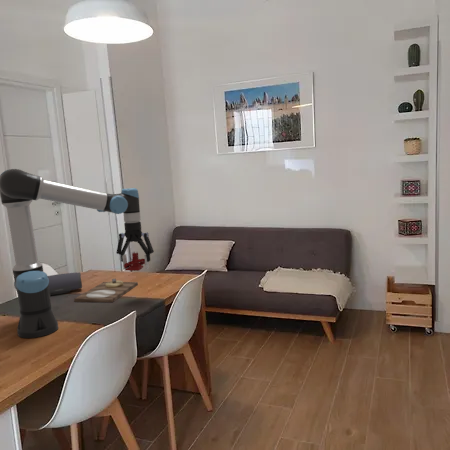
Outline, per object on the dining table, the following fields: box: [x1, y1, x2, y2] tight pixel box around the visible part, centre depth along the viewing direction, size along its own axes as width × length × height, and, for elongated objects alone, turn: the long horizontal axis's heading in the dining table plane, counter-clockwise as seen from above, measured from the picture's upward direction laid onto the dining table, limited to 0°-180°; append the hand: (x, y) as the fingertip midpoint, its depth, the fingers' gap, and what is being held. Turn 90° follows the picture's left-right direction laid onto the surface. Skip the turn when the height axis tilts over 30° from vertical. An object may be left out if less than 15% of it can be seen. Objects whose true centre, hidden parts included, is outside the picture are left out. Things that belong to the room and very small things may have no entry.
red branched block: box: [124, 251, 145, 272], centre depth 210 cm, size 11×12×8 cm
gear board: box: [73, 278, 139, 303], centre depth 229 cm, size 30×20×5 cm, turn 168°
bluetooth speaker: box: [47, 272, 83, 296], centre depth 233 cm, size 23×9×10 cm, turn 111°
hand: (136, 268), depth 210 cm, fingers closed on red branched block, 10 cm apart
